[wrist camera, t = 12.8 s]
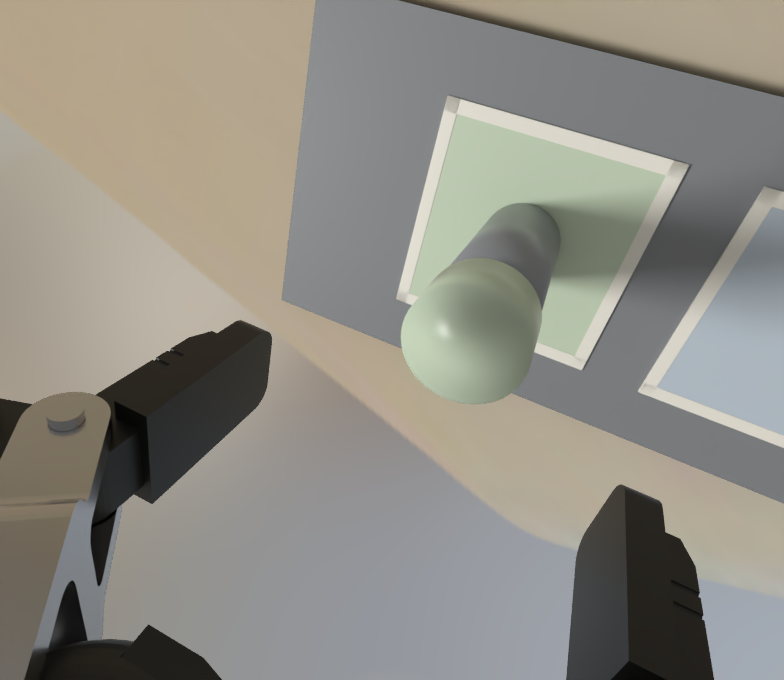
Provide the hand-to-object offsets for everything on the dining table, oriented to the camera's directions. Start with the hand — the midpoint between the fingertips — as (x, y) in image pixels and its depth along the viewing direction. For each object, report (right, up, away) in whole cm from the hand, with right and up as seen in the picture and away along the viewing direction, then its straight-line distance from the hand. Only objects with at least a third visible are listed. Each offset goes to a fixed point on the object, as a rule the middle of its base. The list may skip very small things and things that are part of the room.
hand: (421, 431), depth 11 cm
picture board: (+12, +4, +12) cm, 17 cm away
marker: (+5, +7, +12) cm, 15 cm away
